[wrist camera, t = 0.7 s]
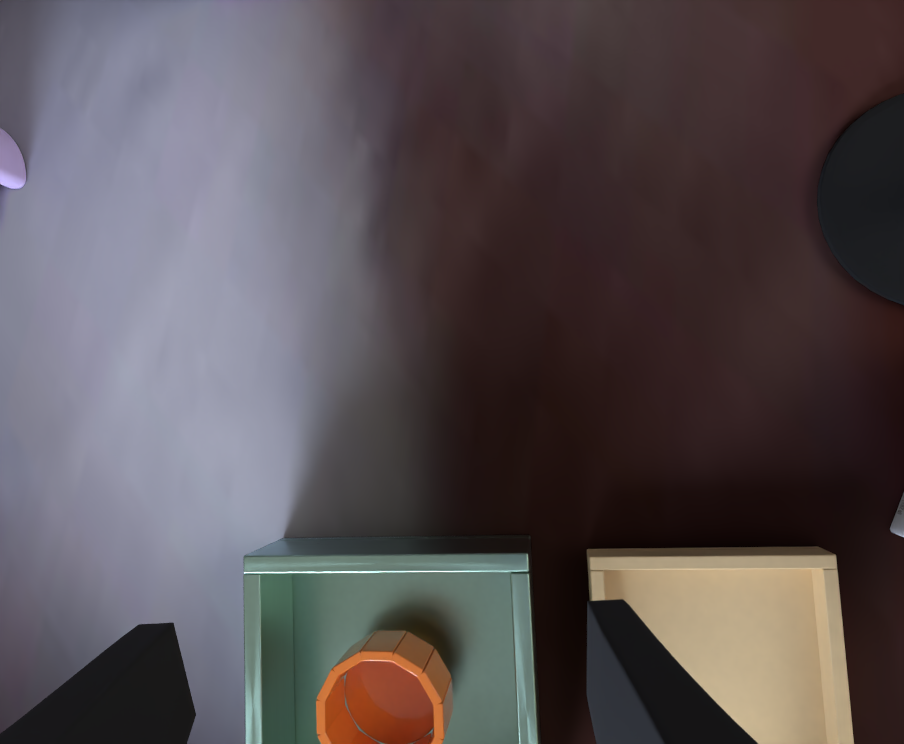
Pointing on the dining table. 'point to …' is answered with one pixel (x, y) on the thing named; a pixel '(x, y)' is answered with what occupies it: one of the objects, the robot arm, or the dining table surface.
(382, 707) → the bowl
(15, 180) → the clip
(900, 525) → the coffee box
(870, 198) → the wine glass
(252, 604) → the basin
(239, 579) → the dining table surface
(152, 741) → the robot arm
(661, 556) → the tray
